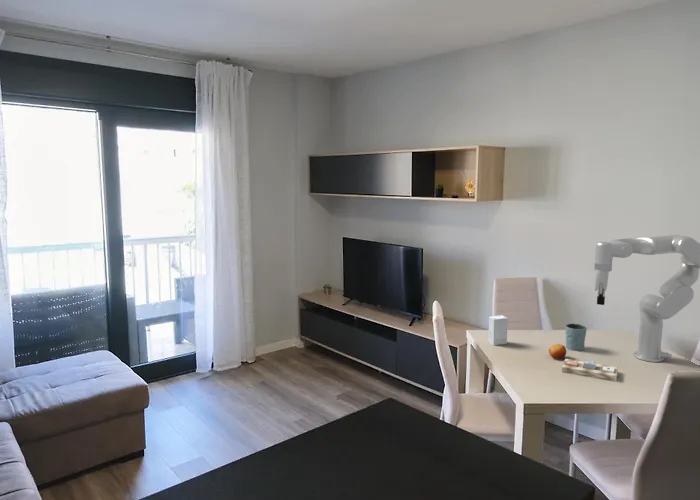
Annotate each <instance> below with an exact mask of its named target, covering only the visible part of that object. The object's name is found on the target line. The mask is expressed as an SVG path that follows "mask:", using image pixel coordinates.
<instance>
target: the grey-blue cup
mask: <svg viewBox="0 0 700 500" xmlns="http://www.w3.org/2000/svg"><path fill="white" fill-rule="evenodd" d="M587 329H588V327H587V326H586V325H584V324H581V323H574V322H573V323H567V324H565V348H566V350H570V351H575V352H582V351H584V349H585V340H586V336H587Z"/></svg>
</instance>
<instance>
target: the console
mask: <svg viewBox="0 0 700 500" xmlns="http://www.w3.org/2000/svg"><path fill="white" fill-rule="evenodd" d="M567 360H569V361H575V362H578V367H574V366H568V365H566V362H567ZM584 362H585V361H582V360H581V361H580V360H576V359H570V358H569V359H568V358H564V361H563V364H562V367H561V372H562V373H567V374H570V375H571V374H572V375H577V376H583V377H588V378H594V379H600V380H606V381H611V382H617V379H618V367H617V366H613V365H605V364H600V363H596V368H595V370H592V369H586V368H584ZM603 366H605V367H611V368H614V373H609V372H604V371H602V369H603Z"/></svg>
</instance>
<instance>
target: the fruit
mask: <svg viewBox="0 0 700 500" xmlns="http://www.w3.org/2000/svg"><path fill="white" fill-rule="evenodd" d="M548 353H549V355H550V356H551V358H554V359H555V360H565V359H566V358H565V357H566V354H567V348H566V346H564V344H562V343H554V344H552V345H551V346H550V347H549V348H548Z"/></svg>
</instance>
